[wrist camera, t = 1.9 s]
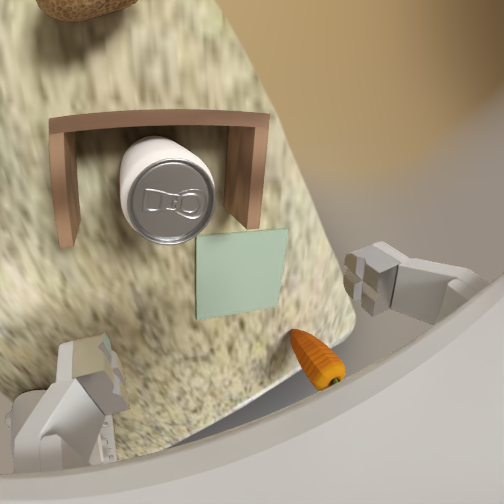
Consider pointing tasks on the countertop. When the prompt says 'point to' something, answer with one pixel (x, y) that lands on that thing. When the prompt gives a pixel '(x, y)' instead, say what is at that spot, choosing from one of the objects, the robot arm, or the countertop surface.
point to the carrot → (317, 360)
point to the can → (165, 191)
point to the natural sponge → (81, 8)
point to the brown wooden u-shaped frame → (239, 136)
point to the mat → (238, 271)
